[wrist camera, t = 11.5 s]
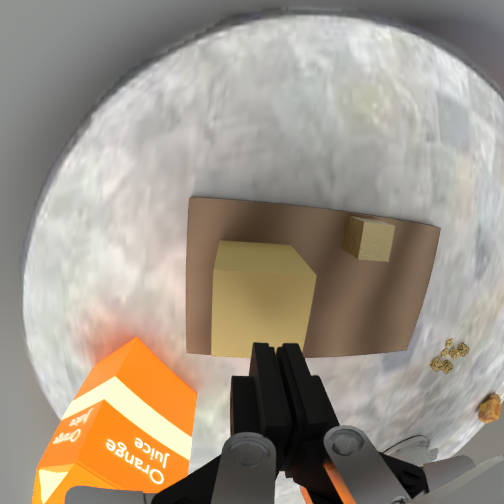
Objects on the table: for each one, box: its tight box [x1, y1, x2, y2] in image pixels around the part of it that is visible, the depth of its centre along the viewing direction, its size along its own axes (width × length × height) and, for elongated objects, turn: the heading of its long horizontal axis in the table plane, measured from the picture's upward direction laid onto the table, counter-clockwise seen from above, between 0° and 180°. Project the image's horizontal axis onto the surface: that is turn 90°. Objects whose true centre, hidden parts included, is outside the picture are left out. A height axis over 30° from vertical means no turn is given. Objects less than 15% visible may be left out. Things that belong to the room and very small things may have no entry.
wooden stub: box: [342, 215, 395, 262], centre depth 19 cm, size 3×3×3 cm
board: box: [186, 197, 441, 358], centre depth 22 cm, size 22×13×1 cm, turn 85°
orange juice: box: [32, 337, 197, 504], centre depth 14 cm, size 8×9×20 cm
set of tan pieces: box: [430, 338, 469, 374], centre depth 26 cm, size 5×5×2 cm
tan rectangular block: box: [211, 240, 317, 358], centre depth 17 cm, size 5×5×7 cm
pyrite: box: [478, 394, 501, 424], centre depth 31 cm, size 5×7×4 cm
